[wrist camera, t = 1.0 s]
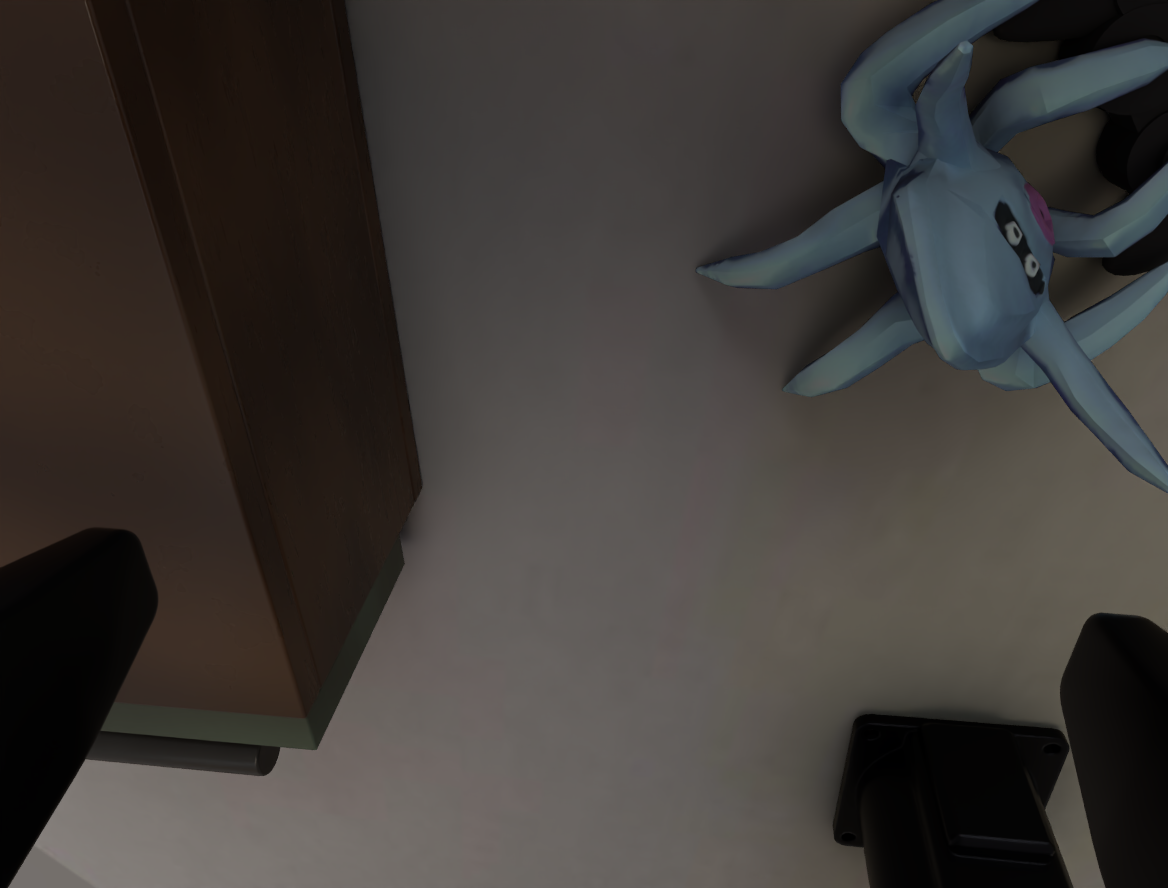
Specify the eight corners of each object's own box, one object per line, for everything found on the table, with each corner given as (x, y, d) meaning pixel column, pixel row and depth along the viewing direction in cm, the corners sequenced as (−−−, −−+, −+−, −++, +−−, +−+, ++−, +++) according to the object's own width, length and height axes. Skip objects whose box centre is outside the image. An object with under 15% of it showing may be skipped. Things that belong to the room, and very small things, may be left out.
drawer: (424, 665, 28) (349, 859, 22) (52, 636, 30) (-107, 810, 24) (325, 131, 19) (159, 226, 13) (-199, 134, 21) (-547, 219, 15)
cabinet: (423, 487, 25) (306, 720, 18) (-21, 465, 27) (-291, 669, 20) (339, -40, 18) (86, -8, 11) (-260, -22, 20) (-821, 17, 13)
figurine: (655, 231, 21) (599, 272, 14) (1119, -164, 17) (1380, -397, 10) (881, 513, 22) (935, 685, 15) (1368, 211, 18) (1763, 251, 11)
